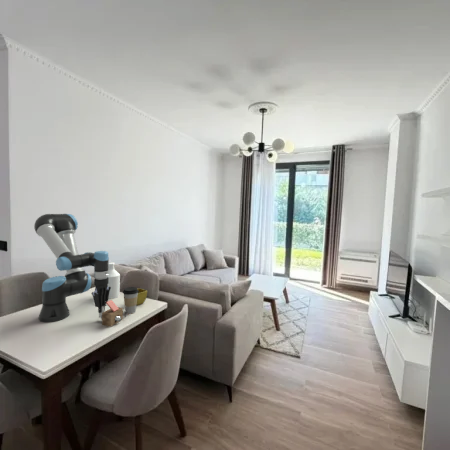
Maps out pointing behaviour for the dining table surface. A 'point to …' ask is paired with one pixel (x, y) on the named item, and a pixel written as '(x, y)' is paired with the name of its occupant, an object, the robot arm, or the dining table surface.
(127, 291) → the coffee cup
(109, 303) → the block
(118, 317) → the pin
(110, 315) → the block
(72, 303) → the dining table surface
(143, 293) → the flower pot
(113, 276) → the bottle
